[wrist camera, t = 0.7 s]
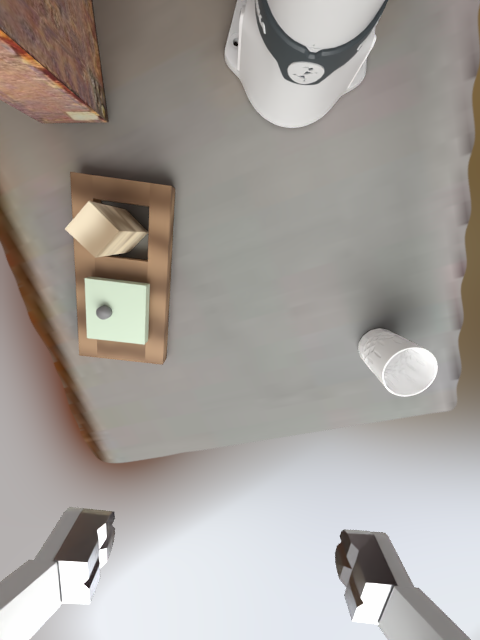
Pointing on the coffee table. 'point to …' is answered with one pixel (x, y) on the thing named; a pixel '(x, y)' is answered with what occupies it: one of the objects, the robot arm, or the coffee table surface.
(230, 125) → the coffee table surface
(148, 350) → the puzzle board
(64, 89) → the book
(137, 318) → the lid
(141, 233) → the maple block
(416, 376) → the white cup
